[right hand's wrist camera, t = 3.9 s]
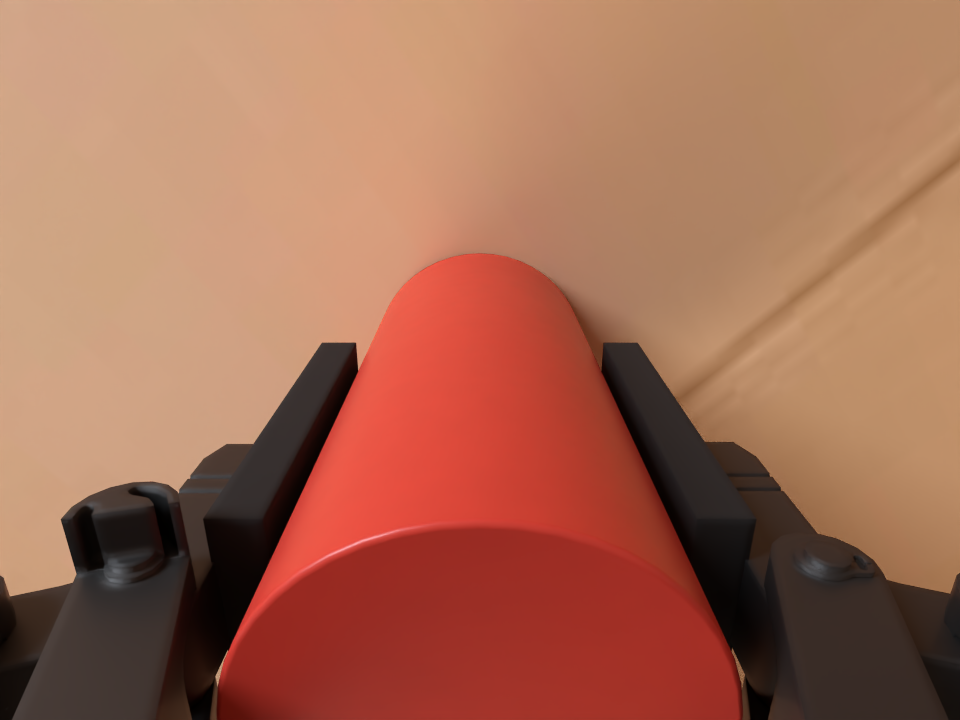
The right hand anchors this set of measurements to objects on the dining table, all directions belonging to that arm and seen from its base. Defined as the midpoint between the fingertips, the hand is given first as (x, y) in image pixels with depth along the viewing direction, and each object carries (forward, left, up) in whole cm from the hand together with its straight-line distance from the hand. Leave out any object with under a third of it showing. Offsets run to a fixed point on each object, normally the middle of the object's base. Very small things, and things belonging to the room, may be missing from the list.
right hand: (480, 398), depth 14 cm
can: (0, 0, -3) cm, 3 cm away
